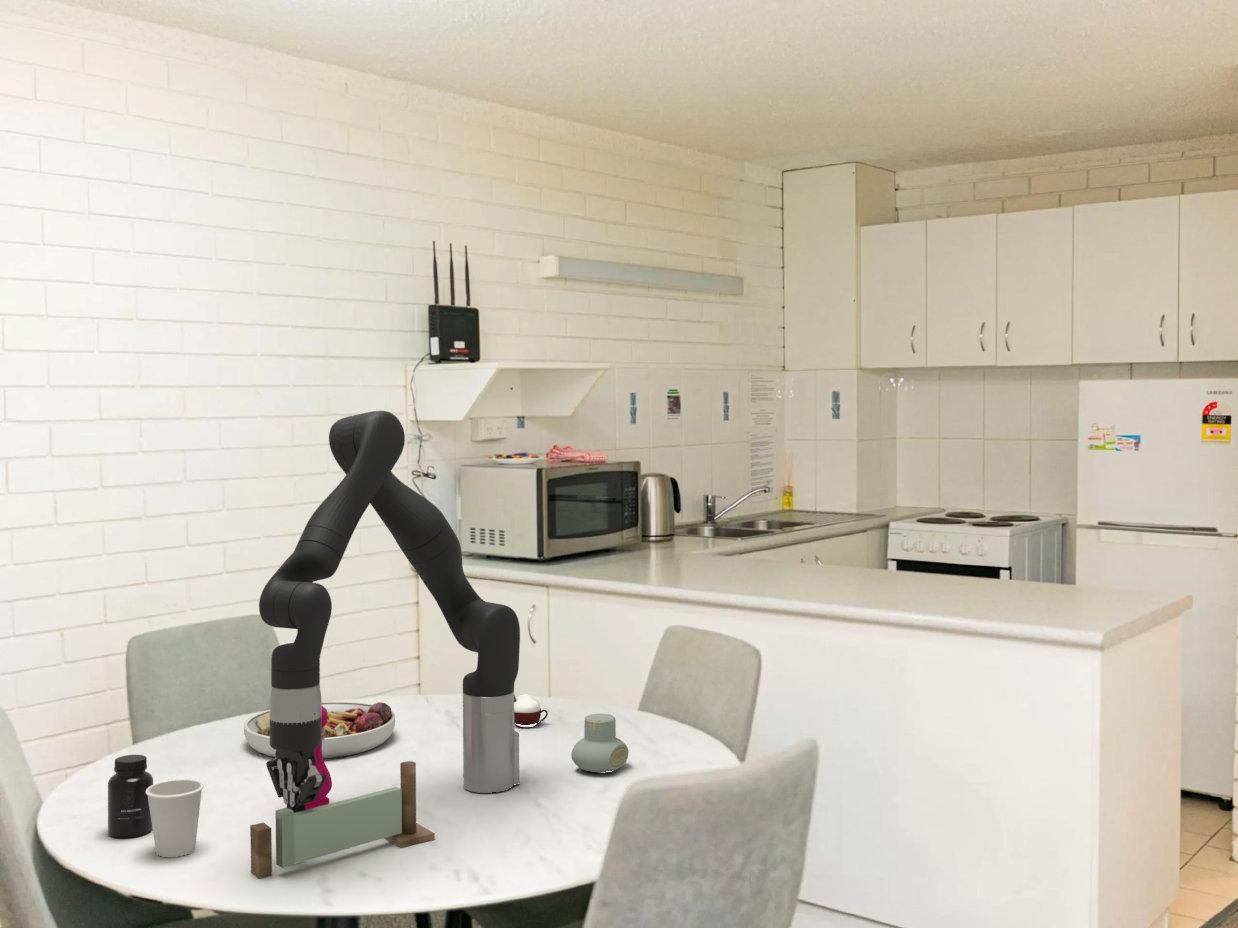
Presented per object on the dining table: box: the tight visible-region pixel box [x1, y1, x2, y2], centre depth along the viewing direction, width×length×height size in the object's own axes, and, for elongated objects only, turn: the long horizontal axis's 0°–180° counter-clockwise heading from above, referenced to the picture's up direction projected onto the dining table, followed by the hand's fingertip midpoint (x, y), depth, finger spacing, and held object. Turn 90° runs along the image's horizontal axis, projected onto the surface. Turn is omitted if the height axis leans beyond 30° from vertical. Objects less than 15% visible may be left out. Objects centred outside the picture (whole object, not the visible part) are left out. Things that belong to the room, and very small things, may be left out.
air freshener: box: [571, 713, 630, 773], centre depth 228 cm, size 11×8×10 cm
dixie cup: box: [146, 778, 204, 858], centre depth 186 cm, size 8×8×10 cm
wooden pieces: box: [249, 760, 436, 879], centre depth 185 cm, size 28×6×12 cm, turn 128°
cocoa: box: [514, 693, 549, 725], centre depth 260 cm, size 10×6×12 cm, turn 74°
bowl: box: [243, 701, 396, 760], centre depth 247 cm, size 30×30×8 cm
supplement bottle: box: [107, 754, 154, 839], centre depth 195 cm, size 7×7×12 cm
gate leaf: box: [275, 786, 402, 869], centre depth 183 cm, size 21×2×8 cm, turn 134°
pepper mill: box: [305, 706, 333, 810], centre depth 204 cm, size 7×7×20 cm
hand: (295, 828), depth 182 cm, fingers closed
